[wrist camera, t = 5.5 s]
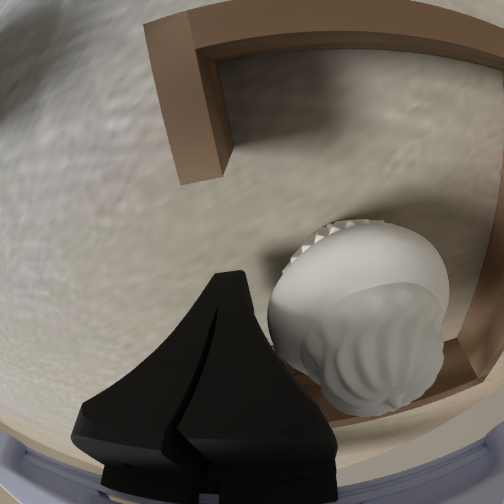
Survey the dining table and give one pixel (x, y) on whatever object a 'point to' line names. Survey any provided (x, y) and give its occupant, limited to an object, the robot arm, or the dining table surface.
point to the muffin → (363, 314)
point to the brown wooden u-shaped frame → (316, 38)
